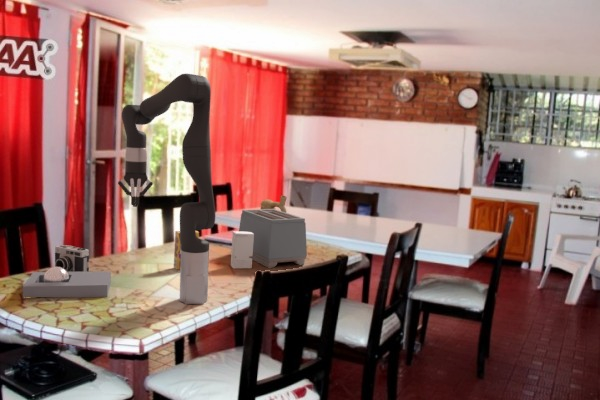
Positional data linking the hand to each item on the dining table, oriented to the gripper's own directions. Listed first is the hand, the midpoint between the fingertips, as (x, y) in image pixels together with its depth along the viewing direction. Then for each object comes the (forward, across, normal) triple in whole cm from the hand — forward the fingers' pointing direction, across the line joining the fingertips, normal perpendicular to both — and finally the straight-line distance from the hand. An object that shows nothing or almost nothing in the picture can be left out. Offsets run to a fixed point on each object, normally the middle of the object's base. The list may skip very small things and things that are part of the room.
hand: (135, 206), depth 216 cm
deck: (+27, -21, -15) cm, 37 cm away
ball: (+23, -25, -15) cm, 37 cm away
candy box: (+27, +20, +13) cm, 36 cm away
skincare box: (+27, +43, +14) cm, 53 cm away
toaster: (+27, +58, +30) cm, 71 cm away
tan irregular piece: (+27, +66, +63) cm, 95 cm away
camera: (+27, -24, +8) cm, 37 cm away
